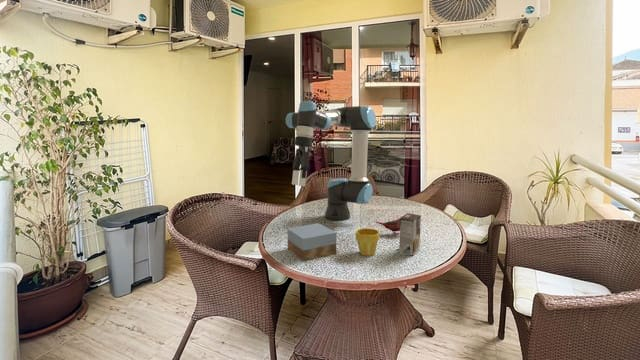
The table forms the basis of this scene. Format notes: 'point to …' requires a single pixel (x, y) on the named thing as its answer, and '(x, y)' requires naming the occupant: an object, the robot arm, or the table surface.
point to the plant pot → (367, 240)
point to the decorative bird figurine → (392, 225)
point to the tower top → (311, 236)
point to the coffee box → (409, 234)
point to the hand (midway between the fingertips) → (298, 185)
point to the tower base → (312, 251)
